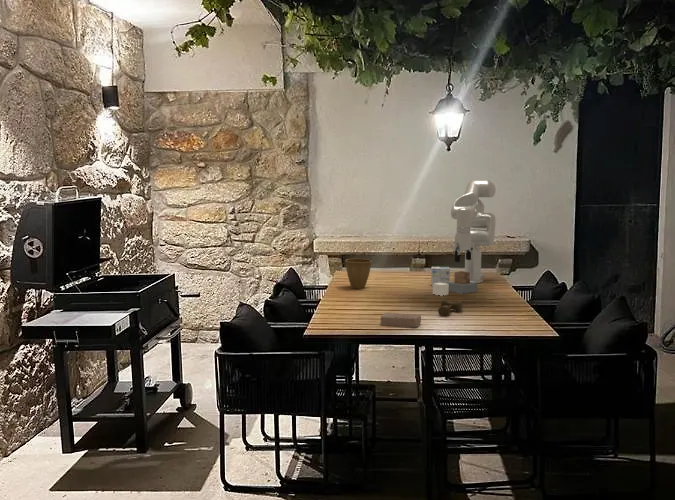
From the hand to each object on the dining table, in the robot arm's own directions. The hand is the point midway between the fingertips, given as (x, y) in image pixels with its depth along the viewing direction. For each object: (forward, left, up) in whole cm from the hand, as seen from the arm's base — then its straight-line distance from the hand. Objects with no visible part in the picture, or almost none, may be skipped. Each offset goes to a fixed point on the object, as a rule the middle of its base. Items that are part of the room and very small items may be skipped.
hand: (462, 260), depth 358 cm
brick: (+83, +32, -18) cm, 91 cm away
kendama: (+48, +31, -17) cm, 60 cm away
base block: (+1, 0, -17) cm, 17 cm away
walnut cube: (+1, 0, -12) cm, 12 cm away
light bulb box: (-3, -19, -17) cm, 26 cm away
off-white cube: (+18, -1, -17) cm, 24 cm away
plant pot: (+39, -44, -17) cm, 61 cm away
